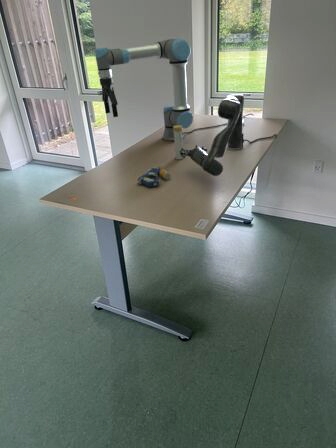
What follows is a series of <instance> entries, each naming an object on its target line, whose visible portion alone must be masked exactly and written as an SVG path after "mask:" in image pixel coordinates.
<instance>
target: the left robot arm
mask: <svg viewBox="0 0 336 448" xmlns="http://www.w3.org/2000/svg"><path fill="white" fill-rule="evenodd" d="M191 52H192V51H191V45H190V44H189V42H188V41H186V39H182V38H169V39H164V40H161V41H155V42H154V43H153V44H144V45H135V46H127V47H119V48H108V47H97V48H95V50H94V57H95V62H96V66H97V75H98V78H99V84H100V86H101V101H102V102H103V105H104V110H105V114H110V113H111V111H112V115H113V116H112V117H113V118H118V117H119V113H118V105H119V104H118V100H117V97H116V93H115V89H114V87H112V86H113V85H114V80H113V73H112V66H117V65H125V64H128V63H130V62H131V61H139V60H146V59H154V58H156V59H157V60H159V59H163V60H165V59H166V60H168V61H169V62H168V63H169V65H170V66H171V70H172V86H173V87H172V88H173V102H174V104H173V105H166V106H165V107H163V122H164V130H163V135H162V139H163V140H164V141H167V142H175V140H174V131H173V126H175V125H181V126H182V130H183V129H184V130H185V129H188V128H190V126H191V125H192V124H193V121H194V115H193V113H192V112H191V109H190V108H191V107H190V105H189V104H188V90H187V71H186V65H188V60H189V58H190V56H191ZM109 102H110V103H111V104H110V103H109ZM110 105H111V106H110ZM110 107H111V109H110ZM250 115H251V116H254V114H253V113H247V114H245V115H243V118H245V117H248V116H250ZM225 125H226V126H227V125H228V122H227V123H226V122H225V123H222V124H218V125H212V126H205V127H198V128H194V129H192V130H191V131H187V132H186V131H184V132H183V131H182V139H184V137H185V136H184V134H191V133H193V132H194V131H197V130H204V129H209V128H217V127H221V126H225Z"/></svg>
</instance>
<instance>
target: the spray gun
mask: <svg viewBox="0 0 336 448" xmlns="http://www.w3.org/2000/svg"><path fill="white" fill-rule="evenodd" d="M158 177H160V178H162V179H164V180H165V181H168V180H169V179H170V178H171V173H170V172H169V171H167V170H166V169H162V168H161V167H160V166H157V167H155V166H151V167H150V169H148V170H147V171H146V172H144V173H143V174H142V175H141V176H140V177H138V179H137V184H140V185H141V186H143V185H144V186H146V187H148V188H151V187H157V186H158V185H160V181H161V180H160V179H158Z"/></svg>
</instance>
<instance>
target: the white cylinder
mask: <svg viewBox="0 0 336 448" xmlns="http://www.w3.org/2000/svg"><path fill="white" fill-rule="evenodd" d="M182 132H183V130H182V131H174V140H175V141H174V152H175V159H176V160H183V159H184V157H182V156H181V155H180V150H181V148H184V143H183V138H182Z"/></svg>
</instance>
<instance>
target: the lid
mask: <svg viewBox="0 0 336 448" xmlns="http://www.w3.org/2000/svg"><path fill="white" fill-rule="evenodd" d="M173 131H182V132H183V128H182V126H181V125H175V126H173Z"/></svg>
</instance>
